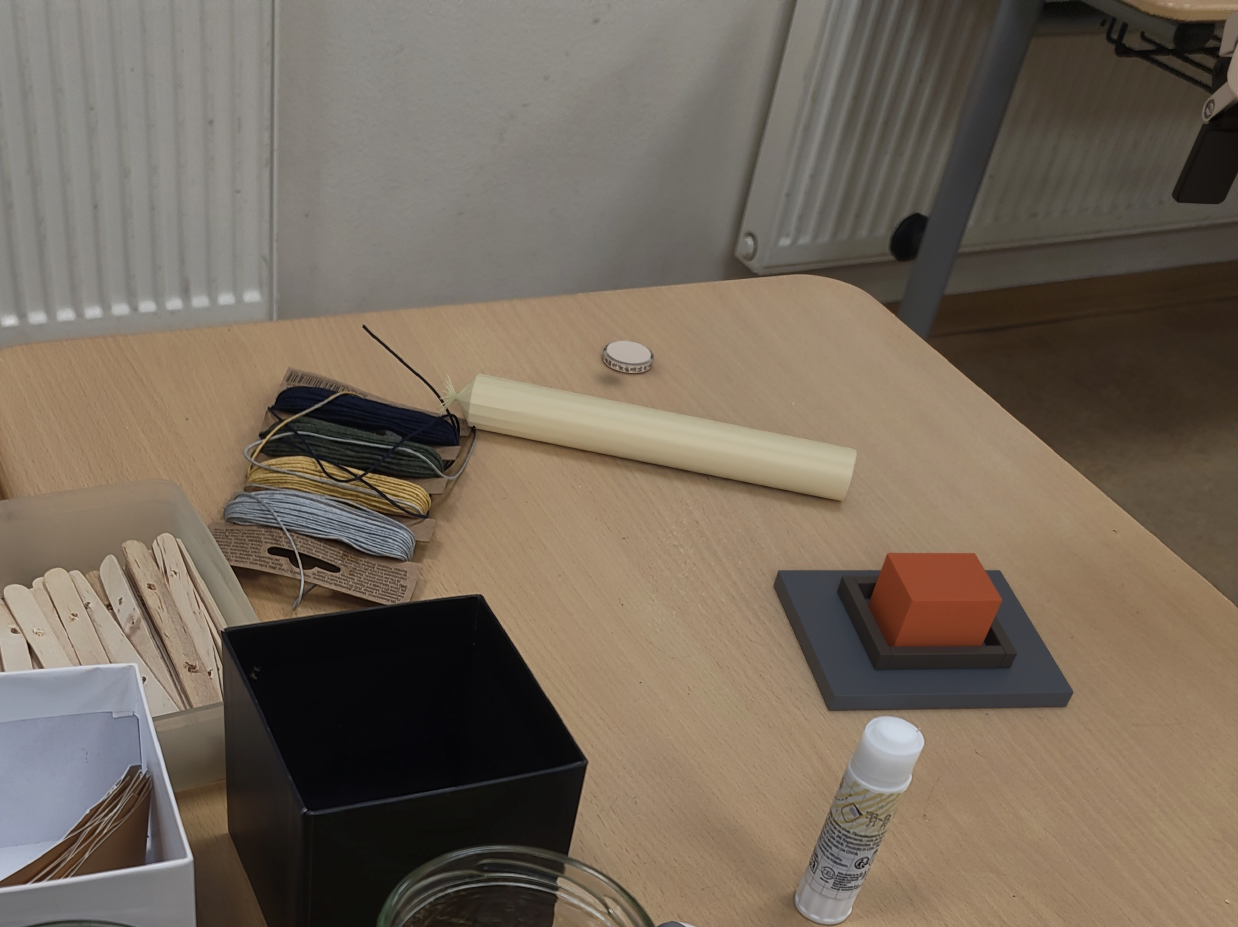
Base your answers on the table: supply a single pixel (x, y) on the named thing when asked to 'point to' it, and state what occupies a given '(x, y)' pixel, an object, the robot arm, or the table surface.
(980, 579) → the orange block
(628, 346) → the white flat disc
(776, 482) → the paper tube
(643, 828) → the table surface
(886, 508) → the table surface
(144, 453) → the table surface
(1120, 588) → the table surface
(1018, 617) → the board
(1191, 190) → the robot arm
